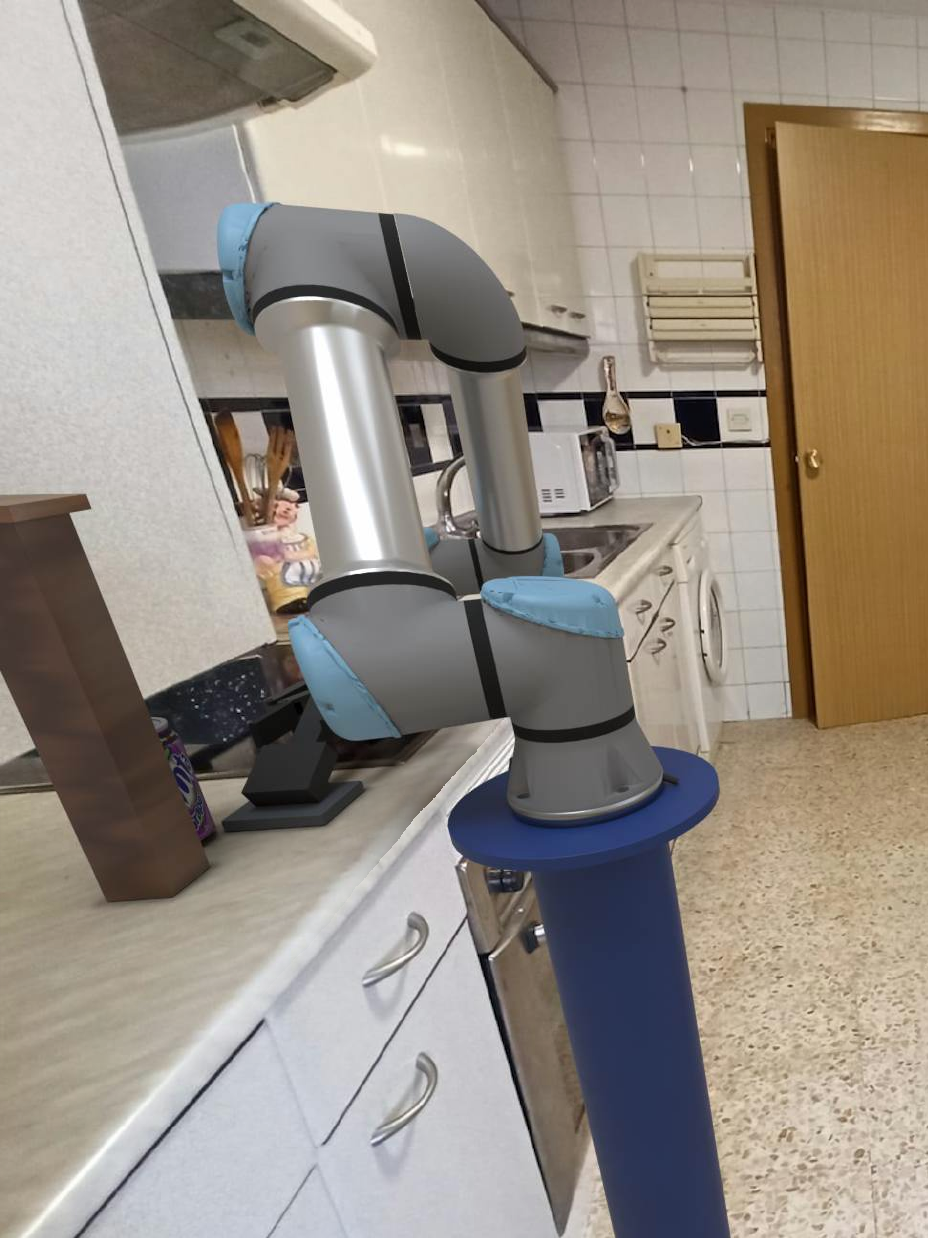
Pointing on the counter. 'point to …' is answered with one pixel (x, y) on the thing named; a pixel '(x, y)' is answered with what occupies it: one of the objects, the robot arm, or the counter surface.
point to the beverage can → (185, 778)
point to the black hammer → (293, 766)
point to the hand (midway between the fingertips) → (292, 733)
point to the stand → (88, 706)
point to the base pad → (295, 810)
